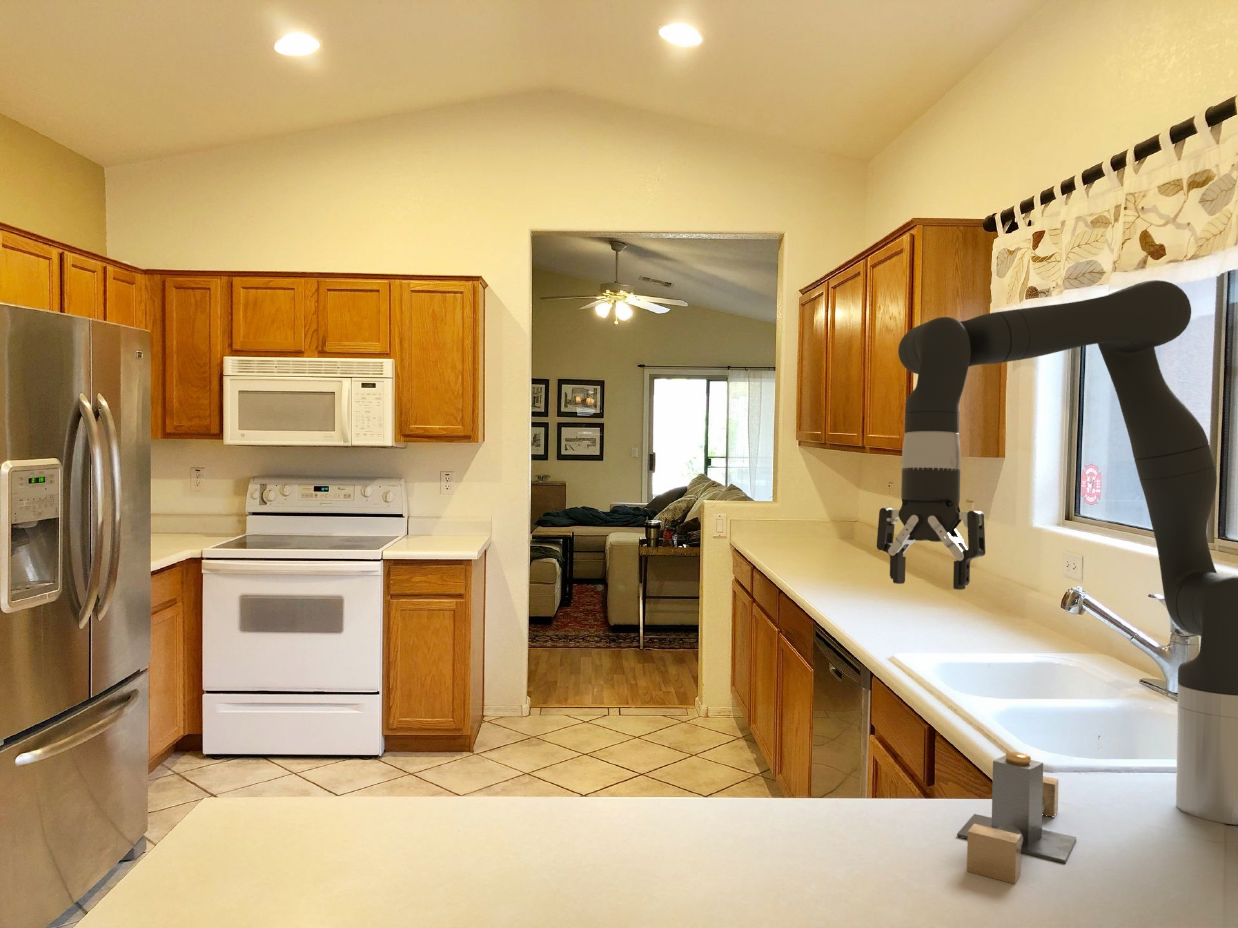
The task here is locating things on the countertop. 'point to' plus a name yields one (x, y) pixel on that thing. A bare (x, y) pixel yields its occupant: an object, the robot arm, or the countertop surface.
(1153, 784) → the countertop surface
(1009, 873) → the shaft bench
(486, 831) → the countertop surface
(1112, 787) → the countertop surface
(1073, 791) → the countertop surface
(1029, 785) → the gold-capped grey pillar
